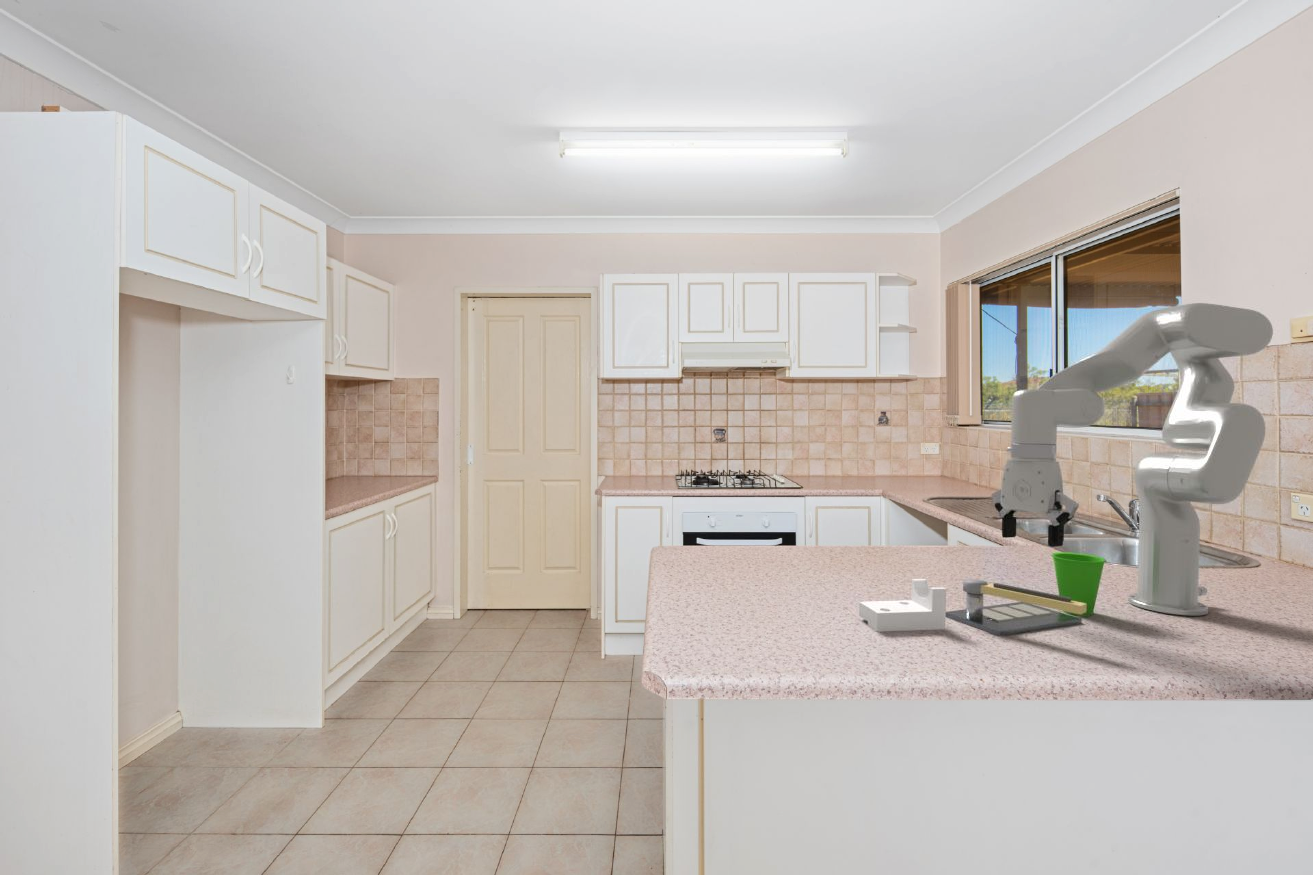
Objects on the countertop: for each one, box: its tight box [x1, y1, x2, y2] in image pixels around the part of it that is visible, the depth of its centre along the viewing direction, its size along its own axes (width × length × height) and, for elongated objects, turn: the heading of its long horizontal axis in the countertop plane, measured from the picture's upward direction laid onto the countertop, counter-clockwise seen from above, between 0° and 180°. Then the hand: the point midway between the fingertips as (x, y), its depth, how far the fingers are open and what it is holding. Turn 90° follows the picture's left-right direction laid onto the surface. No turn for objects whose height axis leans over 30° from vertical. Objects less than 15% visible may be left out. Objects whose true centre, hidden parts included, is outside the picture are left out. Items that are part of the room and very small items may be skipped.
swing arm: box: [962, 578, 1087, 615], centre depth 109 cm, size 20×4×2 cm, turn 37°
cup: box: [1050, 551, 1107, 617], centre depth 123 cm, size 9×9×11 cm
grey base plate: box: [946, 592, 1083, 637], centre depth 118 cm, size 21×12×6 cm, turn 111°
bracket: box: [858, 578, 947, 632], centre depth 115 cm, size 13×7×8 cm, turn 98°
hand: (1031, 541), depth 121 cm, fingers open, 9 cm apart
